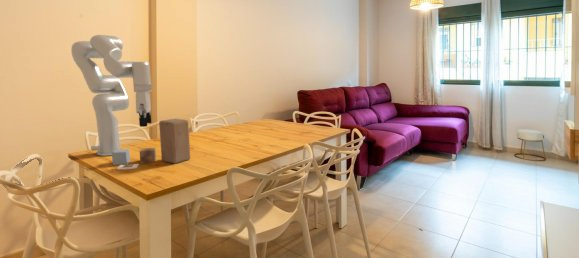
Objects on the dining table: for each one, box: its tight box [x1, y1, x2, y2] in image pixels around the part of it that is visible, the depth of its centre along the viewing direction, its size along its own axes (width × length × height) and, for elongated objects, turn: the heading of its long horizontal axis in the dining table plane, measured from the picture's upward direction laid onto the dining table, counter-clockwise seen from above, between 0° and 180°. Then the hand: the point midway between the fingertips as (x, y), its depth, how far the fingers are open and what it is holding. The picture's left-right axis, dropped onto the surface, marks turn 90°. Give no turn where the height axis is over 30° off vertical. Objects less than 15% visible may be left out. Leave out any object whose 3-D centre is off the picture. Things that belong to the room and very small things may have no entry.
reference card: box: [116, 163, 140, 170], centre depth 147 cm, size 8×5×1 cm, turn 102°
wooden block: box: [158, 118, 191, 165], centre depth 157 cm, size 10×10×20 cm
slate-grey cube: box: [111, 148, 131, 166], centre depth 154 cm, size 6×6×6 cm
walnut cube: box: [139, 147, 157, 164], centre depth 156 cm, size 6×6×6 cm
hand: (145, 124), depth 154 cm, fingers open, 9 cm apart
